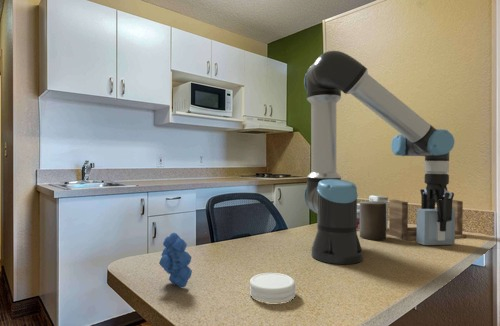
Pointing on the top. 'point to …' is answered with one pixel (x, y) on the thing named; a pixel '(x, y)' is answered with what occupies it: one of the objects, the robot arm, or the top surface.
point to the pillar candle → (373, 220)
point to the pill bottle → (358, 217)
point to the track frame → (401, 229)
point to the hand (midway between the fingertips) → (435, 238)
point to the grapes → (176, 260)
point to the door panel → (433, 228)
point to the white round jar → (272, 287)
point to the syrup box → (381, 199)
